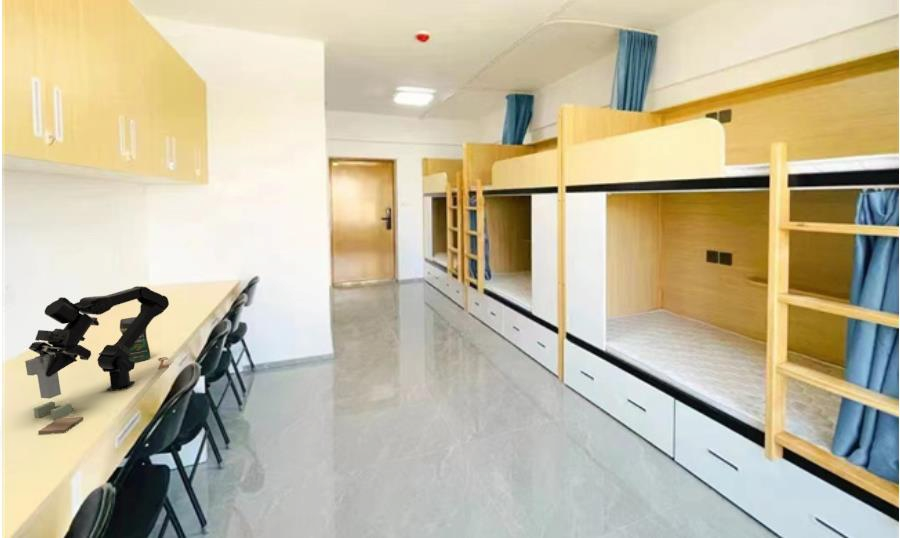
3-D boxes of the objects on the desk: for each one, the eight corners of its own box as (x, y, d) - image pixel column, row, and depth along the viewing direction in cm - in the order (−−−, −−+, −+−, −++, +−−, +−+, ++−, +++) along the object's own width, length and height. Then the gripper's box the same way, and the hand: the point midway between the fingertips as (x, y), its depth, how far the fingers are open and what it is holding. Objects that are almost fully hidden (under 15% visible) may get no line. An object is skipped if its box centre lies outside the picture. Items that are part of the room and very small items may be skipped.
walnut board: (58, 421, 139) (58, 418, 139) (83, 419, 140) (83, 416, 140) (38, 434, 131) (38, 431, 131) (65, 432, 132) (64, 429, 132)
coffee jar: (124, 365, 188) (118, 321, 185) (122, 360, 194) (117, 317, 191) (152, 359, 194) (147, 317, 191) (149, 355, 200) (145, 313, 197)
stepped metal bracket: (52, 393, 144) (46, 353, 142) (61, 394, 144) (54, 354, 142) (30, 401, 138) (23, 360, 136) (38, 402, 137) (31, 361, 135)
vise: (55, 408, 148) (54, 400, 147) (76, 411, 146) (74, 402, 145) (35, 417, 142) (33, 408, 142) (55, 420, 140) (54, 410, 140)
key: (170, 369, 184) (174, 358, 197) (170, 367, 184) (174, 356, 197) (153, 370, 181) (158, 359, 195) (153, 368, 181) (158, 357, 195)
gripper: (30, 317, 145) (-5, 362, 136) (76, 319, 140) (42, 366, 131) (60, 334, 154) (29, 377, 145) (104, 337, 149) (74, 382, 140)
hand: (42, 375), depth 140 cm, fingers closed on stepped metal bracket, 3 cm apart
